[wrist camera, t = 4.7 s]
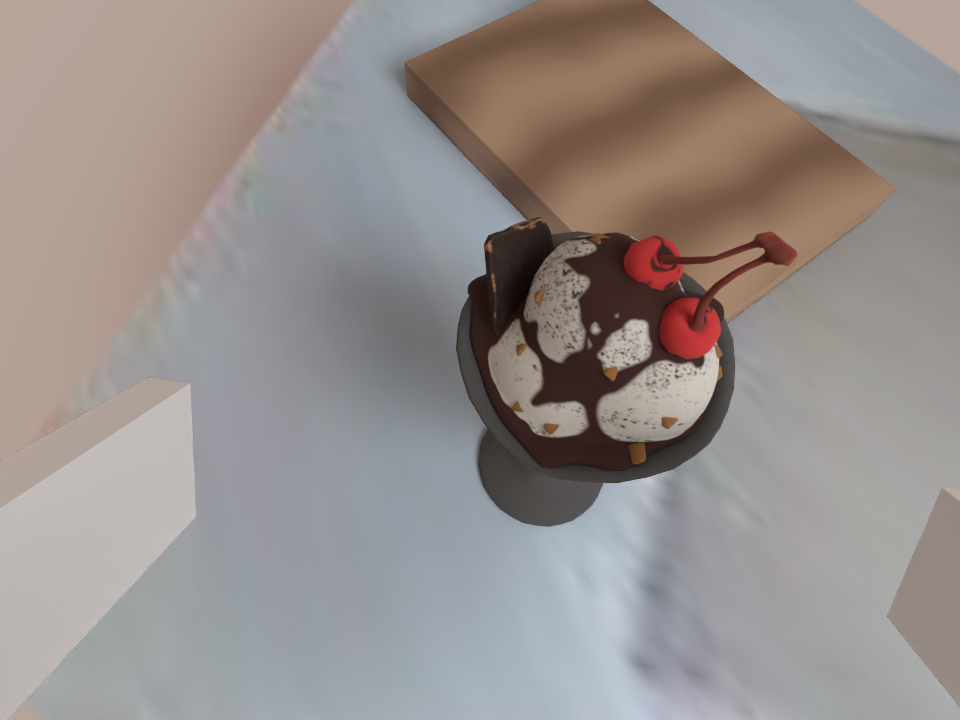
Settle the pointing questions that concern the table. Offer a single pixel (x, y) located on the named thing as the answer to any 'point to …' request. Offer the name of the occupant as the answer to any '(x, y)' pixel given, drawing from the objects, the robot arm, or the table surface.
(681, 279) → the sundae
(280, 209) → the table surface
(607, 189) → the brown flat wooden slab
